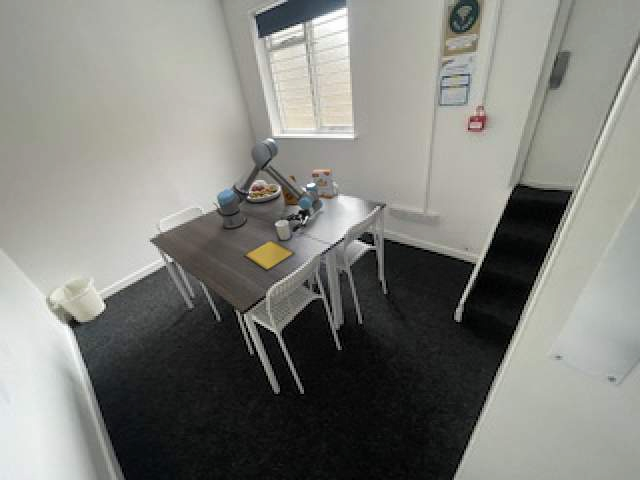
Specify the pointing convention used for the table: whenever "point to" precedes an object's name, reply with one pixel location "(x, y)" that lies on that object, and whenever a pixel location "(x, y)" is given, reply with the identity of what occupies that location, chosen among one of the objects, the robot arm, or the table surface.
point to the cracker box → (323, 183)
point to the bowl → (263, 193)
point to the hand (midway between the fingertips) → (284, 228)
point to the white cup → (283, 229)
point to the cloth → (269, 255)
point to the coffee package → (289, 195)
